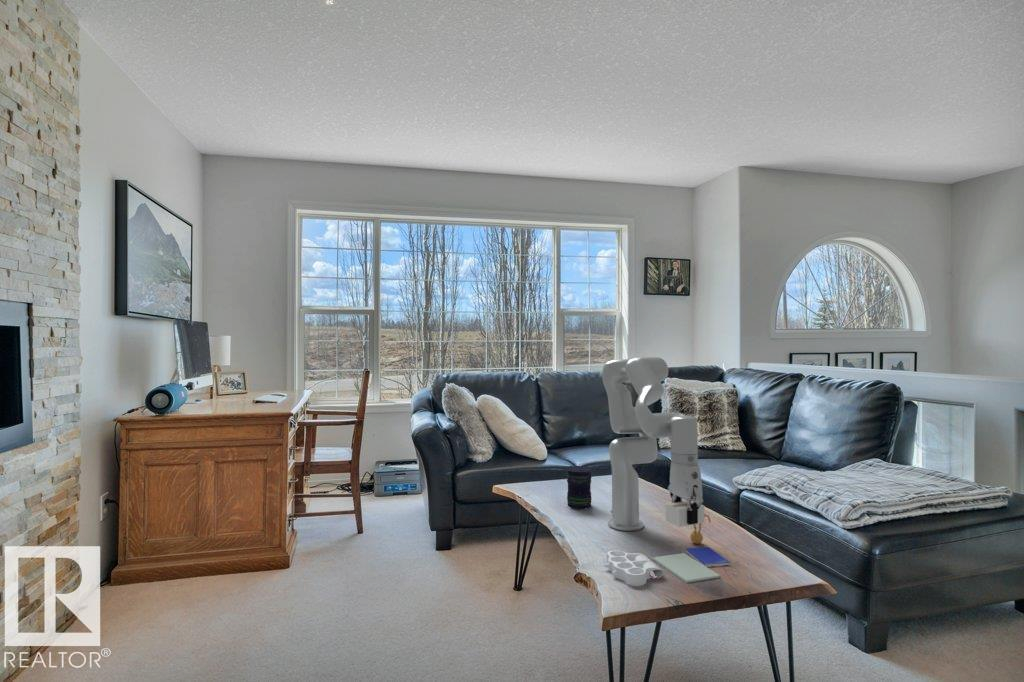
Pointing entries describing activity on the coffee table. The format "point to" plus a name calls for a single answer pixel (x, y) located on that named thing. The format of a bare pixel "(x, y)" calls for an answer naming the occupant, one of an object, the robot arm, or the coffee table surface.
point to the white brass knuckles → (632, 567)
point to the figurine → (697, 533)
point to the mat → (686, 567)
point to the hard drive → (707, 556)
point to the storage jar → (579, 487)
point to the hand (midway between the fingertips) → (685, 519)
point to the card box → (682, 513)
